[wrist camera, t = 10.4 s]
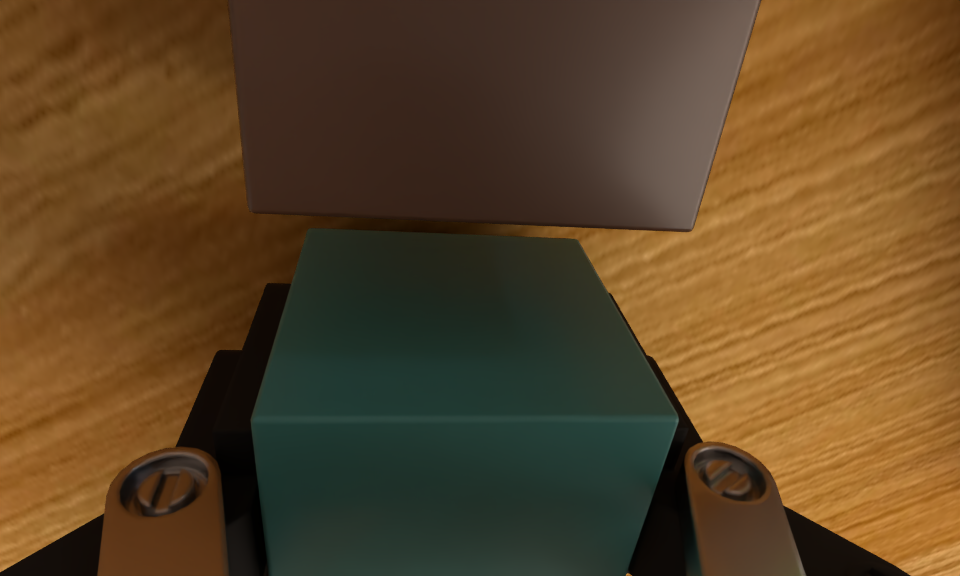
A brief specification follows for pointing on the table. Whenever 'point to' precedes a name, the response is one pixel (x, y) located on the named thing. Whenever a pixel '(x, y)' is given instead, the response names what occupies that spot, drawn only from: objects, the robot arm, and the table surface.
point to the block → (486, 108)
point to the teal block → (454, 412)
